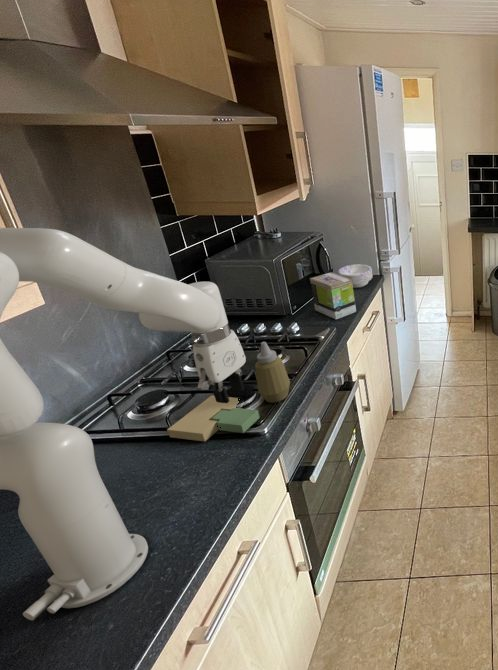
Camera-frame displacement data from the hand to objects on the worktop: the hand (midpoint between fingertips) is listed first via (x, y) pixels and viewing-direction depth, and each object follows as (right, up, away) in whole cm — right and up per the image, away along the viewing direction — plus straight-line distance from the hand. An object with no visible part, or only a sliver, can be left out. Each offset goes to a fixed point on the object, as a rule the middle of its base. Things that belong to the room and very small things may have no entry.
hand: (230, 395), depth 106 cm
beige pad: (-9, -8, +5) cm, 13 cm away
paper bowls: (-3, +29, +94) cm, 99 cm away
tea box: (-1, +17, +67) cm, 69 cm away
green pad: (-1, -8, +4) cm, 9 cm away
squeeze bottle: (+4, -4, +14) cm, 15 cm away
